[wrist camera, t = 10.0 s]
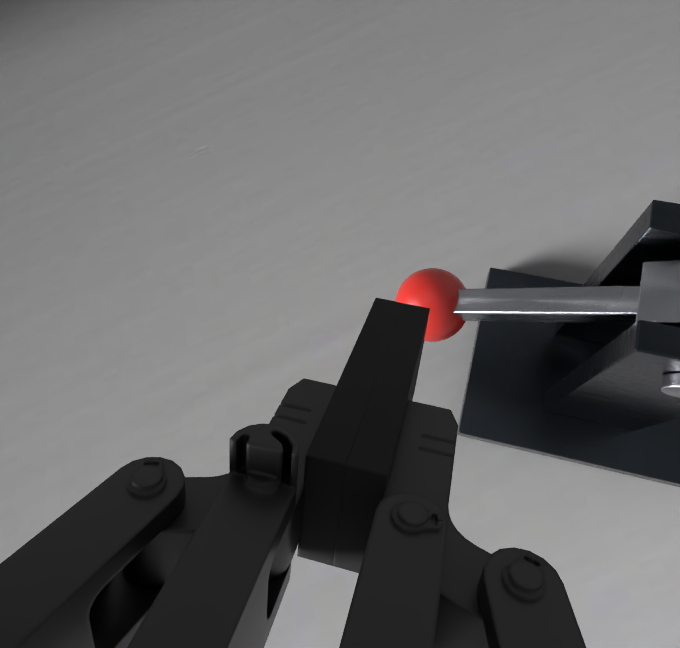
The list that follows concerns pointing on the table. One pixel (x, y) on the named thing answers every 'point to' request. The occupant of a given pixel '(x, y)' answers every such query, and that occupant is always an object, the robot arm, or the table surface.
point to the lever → (544, 301)
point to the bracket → (585, 372)
